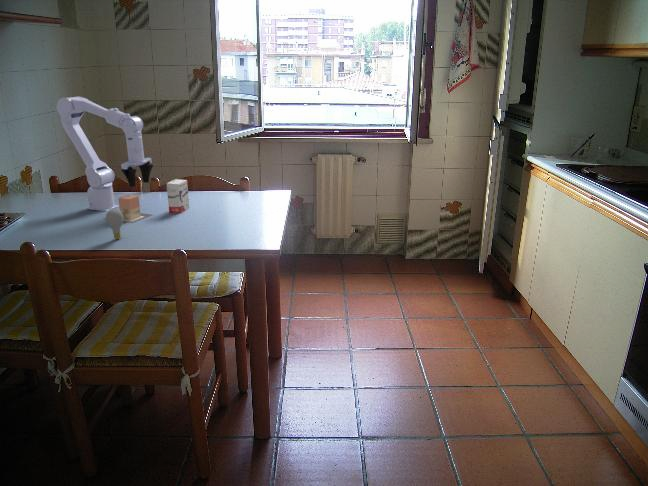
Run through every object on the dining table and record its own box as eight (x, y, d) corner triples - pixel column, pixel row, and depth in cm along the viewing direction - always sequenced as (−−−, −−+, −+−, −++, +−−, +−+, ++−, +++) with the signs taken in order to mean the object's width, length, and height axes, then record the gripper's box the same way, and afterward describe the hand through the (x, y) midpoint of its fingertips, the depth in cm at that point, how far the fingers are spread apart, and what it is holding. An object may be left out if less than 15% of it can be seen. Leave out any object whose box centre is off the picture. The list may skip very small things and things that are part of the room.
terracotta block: (119, 208, 199) (118, 198, 198) (129, 205, 203) (127, 195, 202) (130, 209, 197) (128, 199, 196) (139, 206, 202) (138, 196, 200)
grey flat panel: (102, 219, 201) (102, 219, 200) (125, 211, 211) (125, 211, 211) (132, 223, 195) (132, 223, 195) (154, 215, 206) (154, 214, 206)
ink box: (180, 214, 207) (177, 184, 204) (168, 213, 208) (165, 183, 205) (190, 208, 215) (187, 179, 212) (178, 207, 216) (176, 178, 213)
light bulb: (111, 236, 181) (107, 207, 178) (128, 236, 181) (124, 207, 178) (106, 242, 176) (102, 212, 173) (123, 241, 176) (120, 211, 173)
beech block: (120, 219, 200) (119, 208, 199) (130, 215, 205) (129, 205, 203) (131, 220, 198) (130, 209, 197) (140, 217, 203) (139, 206, 202)
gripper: (130, 152, 197) (134, 189, 202) (156, 147, 210) (160, 181, 214) (115, 151, 200) (119, 187, 204) (141, 146, 212) (145, 180, 217)
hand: (139, 184), depth 209 cm, fingers open, 7 cm apart
